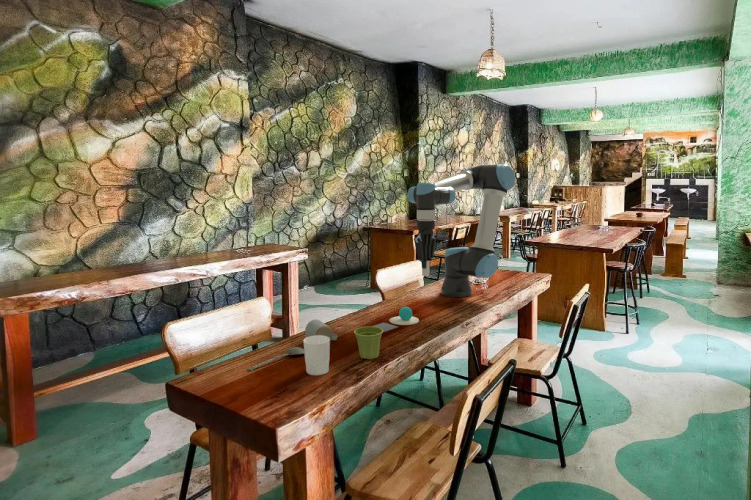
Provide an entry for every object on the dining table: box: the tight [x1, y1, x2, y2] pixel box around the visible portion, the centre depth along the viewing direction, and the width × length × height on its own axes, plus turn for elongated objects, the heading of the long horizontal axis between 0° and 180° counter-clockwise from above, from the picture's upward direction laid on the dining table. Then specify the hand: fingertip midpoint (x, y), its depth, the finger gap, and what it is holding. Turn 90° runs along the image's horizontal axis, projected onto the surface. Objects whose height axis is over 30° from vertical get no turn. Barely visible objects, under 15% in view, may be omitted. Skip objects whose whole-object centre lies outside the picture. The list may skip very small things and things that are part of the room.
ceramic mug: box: [304, 318, 338, 341], centre depth 170 cm, size 11×8×8 cm
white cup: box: [302, 335, 331, 376], centre depth 144 cm, size 8×8×10 cm
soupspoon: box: [248, 346, 305, 372], centre depth 154 cm, size 22×3×7 cm
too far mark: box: [371, 322, 399, 333], centre depth 185 cm, size 8×8×1 cm
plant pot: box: [353, 326, 384, 360], centre depth 155 cm, size 9×9×9 cm
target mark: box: [388, 315, 420, 326], centre depth 193 cm, size 12×12×1 cm
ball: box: [398, 306, 413, 320], centre depth 194 cm, size 6×6×6 cm
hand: (425, 275), depth 201 cm, fingers closed
